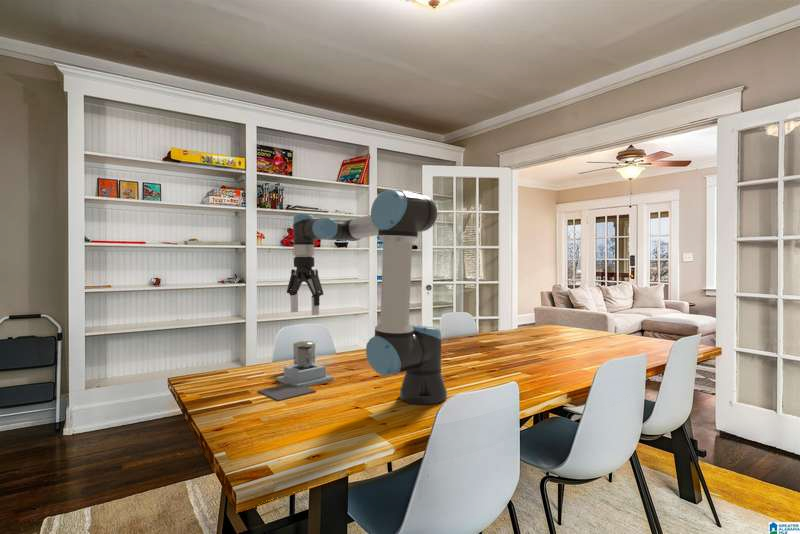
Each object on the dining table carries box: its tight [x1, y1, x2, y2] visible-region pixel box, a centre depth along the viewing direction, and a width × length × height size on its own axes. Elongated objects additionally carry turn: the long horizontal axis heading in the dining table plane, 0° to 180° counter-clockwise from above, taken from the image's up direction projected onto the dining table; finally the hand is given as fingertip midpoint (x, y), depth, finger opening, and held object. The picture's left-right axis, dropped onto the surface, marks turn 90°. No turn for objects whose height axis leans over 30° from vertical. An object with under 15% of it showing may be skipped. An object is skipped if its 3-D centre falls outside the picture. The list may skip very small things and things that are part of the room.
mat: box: [257, 383, 317, 402], centre depth 147 cm, size 14×14×1 cm
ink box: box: [292, 340, 317, 365], centre depth 175 cm, size 9×5×12 cm, turn 92°
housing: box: [275, 363, 334, 387], centre depth 161 cm, size 15×15×5 cm
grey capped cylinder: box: [296, 340, 313, 370], centre depth 161 cm, size 6×6×14 cm
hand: (304, 313), depth 162 cm, fingers open, 13 cm apart
